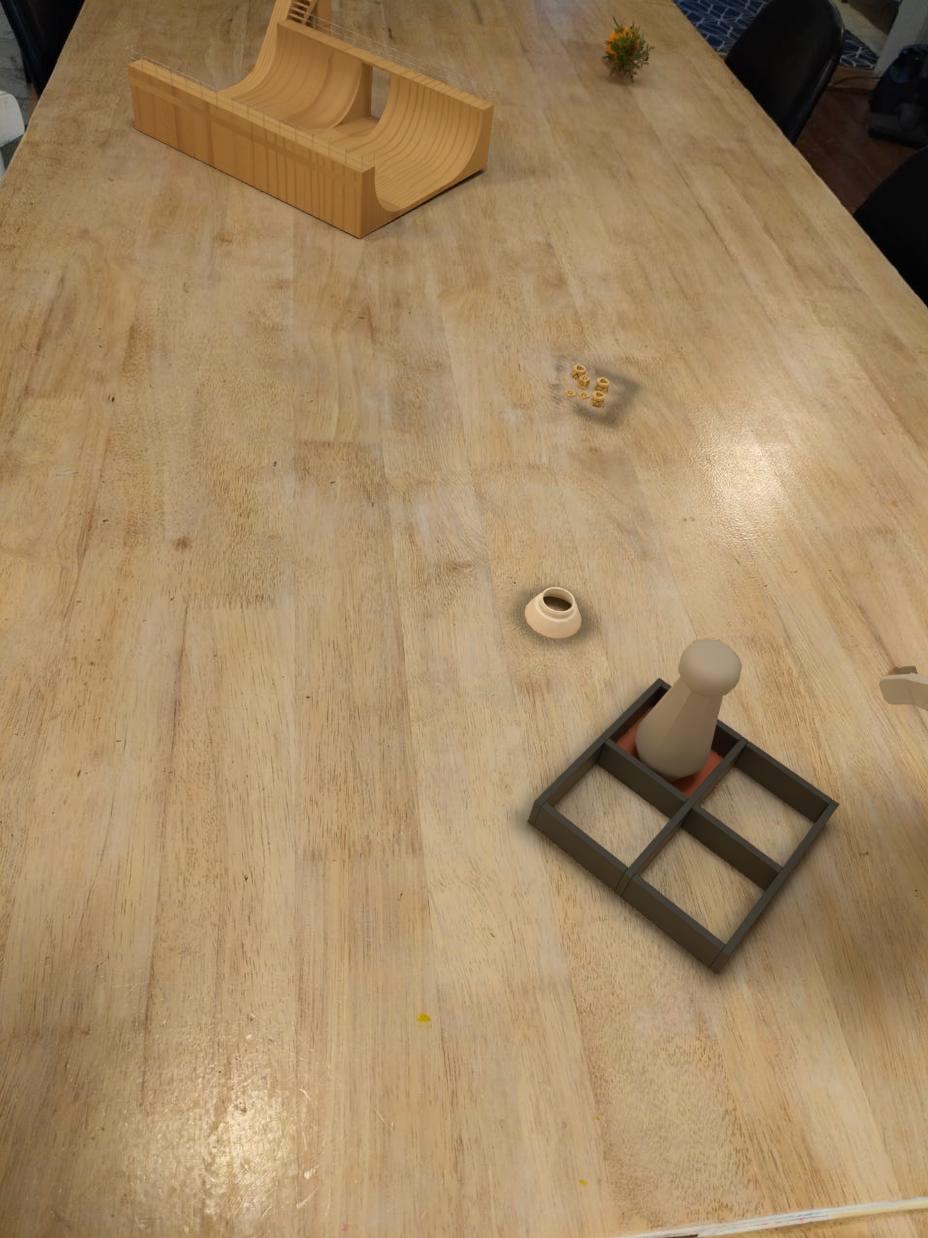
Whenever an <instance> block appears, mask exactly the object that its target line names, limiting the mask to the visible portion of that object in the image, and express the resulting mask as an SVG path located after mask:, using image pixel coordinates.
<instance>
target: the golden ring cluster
mask: <svg viewBox="0 0 928 1238" xmlns="http://www.w3.org/2000/svg"><path fill="white" fill-rule="evenodd" d="M586 372H587V367H586V366H585V365H583V364H578V363H576V364H575V365H573V367H572V371H571V378H572V379H573V380H574V381H577V383H576V386H577V389H580V390H583V391H581V392H578V393H577V394H576V392H575V391H574V390H573V389H566V390H564V395H566V397H567V398H574V397H576V396H578V397H579V398H580V399H581V400H587V399H589V398H590V396H591V398H590V400H589V401H590V402H589V404H590V405H591V406H592V407H595V408H601V407H603V405H604V402H605V399H606V394H607V393H608V391H609V387H610V384H611V382H610V380H609V379H608V378H606V377H598V378H597V380H596V382H595V386H594V390H593V391H592V393H591V394H592V395H589V394H588V393H587V388H588V387H589V386H590V383H591V379H592V378H591V377H589V376H587V375H586Z"/></svg>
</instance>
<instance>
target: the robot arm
mask: <svg viewBox="0 0 928 1238" xmlns="http://www.w3.org/2000/svg"><path fill="white" fill-rule="evenodd" d="M878 686H879V690H880V692H881V694H882V698H883V700H884V701H885V702H886V703H887V704H888V705H891V706H899V705H900V706H901V705H903V706H904V705H908V706H909V705H910V706H911V705H914V706H915V707H917V708H920V709H922V710H924V711H926V712H928V676H927V675H923V674H919V673H918V670H917V667H916V665H904V666H902V667H898V666H892V667H890V668H889V669H888V670H887V672H886V673H885V674H884V675H883V676H882V678H881V679H880V681H879V682H878Z"/></svg>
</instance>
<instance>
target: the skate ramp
mask: <svg viewBox="0 0 928 1238" xmlns="http://www.w3.org/2000/svg"><path fill="white" fill-rule="evenodd" d="M332 25H334V26H336V27H339V28H341V29H342V33H338V32H335V31H333V30H332ZM345 31H348V32H351V33H353V34H355V35H357V36H360V37H363V38H365V39H367V40H370V42H371V43H370V46H369V45H367V44H365V43H363V42H360V41H358V42H357V39H354V38H351V37H348V36H346V35H344V32H345ZM332 32H333V33H335V34H338V35H340V36H342V39H339V38H337V37H334V36H332ZM344 38H348V39H350V40H353V41H354V42H356V46H355V45H353V44H351V43H348V42H346V41H344ZM374 42H375V43H377V44H380V45H382V46H385V47H386V48H389V49H391V50H394V51H397V52H399V53H400V54H404V55H407V56H409V57H411V58H414V59H415V60H417V61H421V62H423V63H426V64H427V65H430V66H431V68H434V67H436V68H439V69H440V70H443V71H445V72H446V74H445V76H442V75H440V74H438V73H436V72H433V71H432V70H430V71H429V70H427V69H425V68H424V67H420V66H418V63H417V62H415V64H413V63H411V62H409V61H406V60H404V59H403V57H400V58H398V57H396V56H394V55H391V54H389V53H387V56H391V57H394V58H396V59H398V60H399V61H400V63H396V62H394V61H392V60H390V59H388V57H382V56H381V55H380V56H379V55H378V54H375V53H373V52H371V51H369V50H365V49H363V48H360V47H359V43H360V44H362V45H363V46H364V45H365V46H366V47H370V48H373V49H374V50H376V51H379V52H382V53H383V54H385V52H384V51H382V50H379V49H377V48H374V47H373V45H374V44H373V43H374ZM138 45H139V43H137V44H134V45H130V46H128V47H125V48H124V49H125V51H126V54H125V59H127V61H126V69H127V77H128V83H129V87H130V97H131V103H132V110H133V112H132V113H133V118H134V120H133V121H134V127H135V130H137V131H139V132H141V133H143V134H145V135H147V136H149V137H151V138H154V139H155V140H158V141H159V142H162V143H164V144H165V145H168V146H170V147H171V148H173V149H176V150H177V151H180V152H182V153H184V154H186V155H188V156H190V157H192V158H194V159H195V160H198V161H200V162H202V163H204V164H207V165H208V166H210V167H212V168H214V169H217V170H218V171H221V172H223V173H225V174H226V175H229V176H231V177H233V178H235V179H237V180H239V181H241V182H243V183H245V184H247V185H250V186H251V187H253V188H255V189H257V190H260V191H261V192H264V193H265V194H268V195H270V196H272V197H274V198H276V199H278V200H280V201H282V202H284V203H286V204H288V205H290V206H293V207H294V208H296V209H298V210H301V211H303V212H305V213H307V214H309V215H311V216H313V217H315V218H317V219H318V220H321V221H323V222H325V223H327V224H329V225H331V226H333V227H335V228H337V229H339V230H342V231H343V232H345V233H347V234H350V235H352V236H353V237H356V238H358V240H361V239H362V238H364V237H366V236H368V235H369V234H371V233H373V232H375V231H376V230H378V229H380V228H381V227H383V226H385V225H387V224H388V223H390V222H392V221H394V220H395V219H397V218H399V217H401V216H402V215H404V214H405V213H407V212H409V211H411V210H412V209H414V208H416V207H418V206H420V205H421V204H423V203H425V202H426V201H428V200H430V199H431V198H432V199H433V197H435V196H437V195H438V194H440V193H443V192H444V191H445V190H448V189H449V188H451V187H453V186H454V185H456V184H458V183H460V182H462V181H463V180H465V179H467V178H468V177H471V176H472V175H473V174H476V173H477V172H479V171H481V170H482V169H484V168H486V167H487V165H488V157H489V149H490V143H491V134H492V129H493V128H492V126H493V118H494V112H495V101H496V96H490V95H489V94H491V93H492V95H496V93H497V90H496V89H492V88H490V87H488V86H485V85H483V84H480V83H479V82H475V81H473V80H471V79H468V78H466V77H463V76H460V75H458V74H456V73H454V72H451V71H448V70H446V69H444V68H442V67H439V66H436V65H434V64H432V63H429V62H428V61H424V60H422V59H419V58H417V57H415V56H412V55H410V54H408V53H405V52H402V51H400V50H397V49H395V48H393V47H391V46H388V45H385V44H383V43H381V42H379V41H375V40H373V39H371V38H368V37H366V36H364V35H361V34H359V33H356V32H354V31H352V30H350V29H347V28H344V27H342V26H340V25H337V24H335V23H332V0H276V1H275V3H274V6H273V9H272V13H271V16H270V19H269V22H268V25H267V29H266V32H265V36H264V39H263V42H262V45H261V48H260V52H259V53H258V54H259V55H258V58H257V59H256V61H255V63H253V64H251V65H248V75H247V76H246V77H245V78H244V79H243V80H241V81H240V82H238V83H235V84H233V85H232V86H229V87H226V88H224V89H222V90H221V89H220V90H219V89H217V88H215V87H213V86H211V85H209V84H207V83H206V82H205V83H204V82H201V81H200V80H198V79H196V78H194V77H192V76H189V75H186V74H185V73H183V72H180V71H178V70H176V69H174V68H172V67H169V66H168V65H165V64H163V63H160V62H159V61H155V60H154V59H152V58H150V57H148V56H145V55H143V54H142V52H141V51H142V50H141V48H139V51H138V52H136V51H134V50H133V49H130V48H133V47H135V46H138ZM128 50H129V51H131V52H134V53H132V54H129V52H128ZM135 54H139V55H140V59H138V60H137V59H136V58H134V57H131V56H132V55H135ZM143 57H145V58H146V59H149V60H150V62H149V61H148V60H146V59H143ZM130 59H133V60H135V61H133V62H130V61H129V60H130ZM151 61H153V62H154V63H152V62H151ZM403 62H405V63H408V64H409V65H410V64H411V65H413V66H414V70H413V69H411V68H409V67H406V66H403V65H402V64H403ZM157 63H158V64H160V65H161V66H159V65H158V64H157ZM162 66H164V67H167V68H169V69H170V70H167V69H165V68H163V67H162ZM374 68H375V69H378V70H380V71H381V72H382V71H383V72H385V73H387V74H390V85H389V91H388V97H387V101H386V104H385V107H384V110H383V112H382V115H381V117H380V118H378V117H376V116H374V115H372V97H373V95H372V94H373V71H374ZM417 68H419V69H423V70H425V71H428V72H429V73H430V75H429V76H428V75H425V74H423V73H420V72H418V71H417ZM172 71H175V72H178V73H179V74H182V75H184V76H185V77H183V76H181V75H178V74H176V73H173V72H172ZM433 74H435V75H437V76H440V77H441V78H444V79H446V78H448V77H449V75H448V74H453V75H456V76H458V77H460V78H461V79H462V80H466V81H469V82H472V83H474V84H477V89H473V88H472V87H469V86H466V85H464V83H463V82H461V83H459V82H456V81H455V80H453V79H450V78H448V80H449V81H451V82H454V83H456V84H458V85H460V88H461V89H459V88H457V87H454V86H452V85H449V84H448V82H445V83H444V82H442V81H440V80H437V79H435V78H433ZM187 77H188V78H190V79H193V80H195V81H198V82H199V84H198V83H195V82H194V81H192V80H189V79H188V78H187ZM203 84H204V85H206V86H208V87H210V88H212V89H214V90H216V91H213V90H211V89H209V88H207V87H205V86H203ZM480 86H482V87H485V88H487V89H489V90H492V91H490V92H488V93H487V94H486V93H483V92H481V91H479V88H480ZM463 87H466V88H468V89H470V90H473V91H476V92H477V93H480V94H482V95H485V97H484V98H481V97H479V94H476V95H474V94H470V93H469V92H466V91H464V90H462V89H463ZM486 97H490V99H488V100H486ZM490 100H491V102H490Z"/></svg>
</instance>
